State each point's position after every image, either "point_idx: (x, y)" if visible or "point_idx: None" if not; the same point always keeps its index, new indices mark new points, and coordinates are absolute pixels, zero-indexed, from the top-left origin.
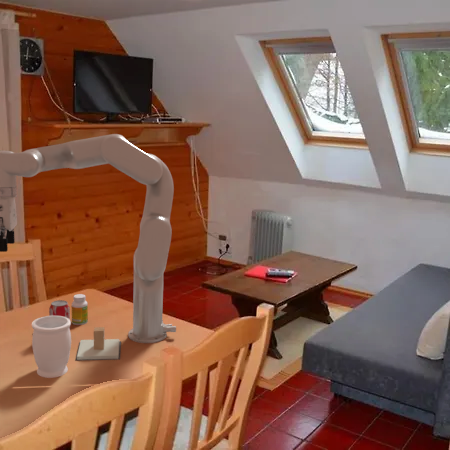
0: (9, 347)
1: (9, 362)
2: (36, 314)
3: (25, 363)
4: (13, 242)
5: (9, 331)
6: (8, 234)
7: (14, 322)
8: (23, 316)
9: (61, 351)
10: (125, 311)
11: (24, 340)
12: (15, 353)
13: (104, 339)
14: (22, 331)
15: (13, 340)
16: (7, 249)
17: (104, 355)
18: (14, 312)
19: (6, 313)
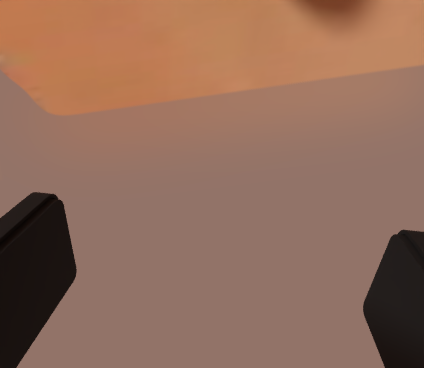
0: (291, 70)
1: (393, 56)
2: (50, 20)
3: (418, 6)
4: (54, 203)
5: (181, 86)
6: (3, 321)
7: (117, 81)
8: (71, 60)
9: None
10: None
11: (250, 33)
12: (337, 47)
13: None
14: (183, 48)
15: (245, 66)
16: (415, 238)
17: None
18: (45, 91)
19: (55, 111)
